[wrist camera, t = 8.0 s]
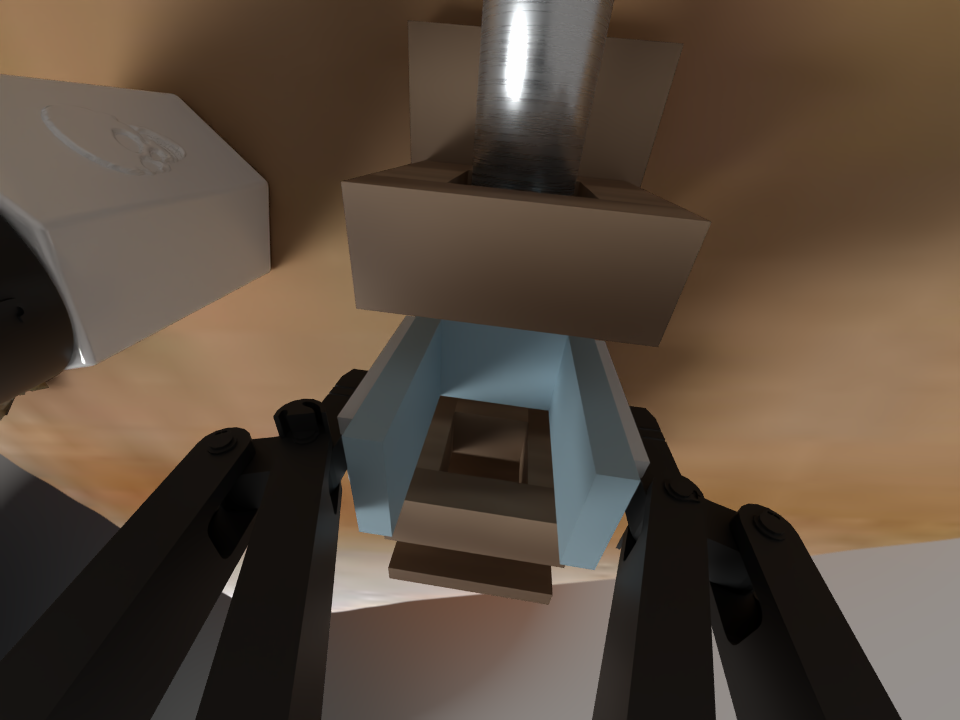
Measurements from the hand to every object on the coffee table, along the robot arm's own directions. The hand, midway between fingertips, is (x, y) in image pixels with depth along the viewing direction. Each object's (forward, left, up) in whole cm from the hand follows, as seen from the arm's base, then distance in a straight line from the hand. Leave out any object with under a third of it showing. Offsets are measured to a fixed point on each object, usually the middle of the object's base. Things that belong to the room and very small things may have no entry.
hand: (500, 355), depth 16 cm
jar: (-4, -16, -4) cm, 17 cm away
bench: (0, 0, -4) cm, 4 cm away
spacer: (0, 0, 0) cm, 0 cm away
